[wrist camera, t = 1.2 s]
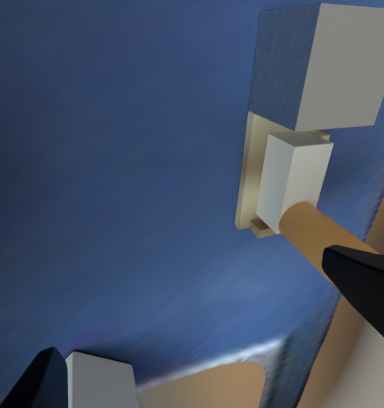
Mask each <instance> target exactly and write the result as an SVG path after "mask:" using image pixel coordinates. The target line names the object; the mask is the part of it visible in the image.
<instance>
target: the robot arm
mask: <svg viewBox="0 0 384 408" xmlns="http://www.w3.org/2000/svg"><path fill="white" fill-rule="evenodd" d="M321 265H322V269H323V271H324V273H325V274H326V275H327V276H328V278H329V279H330V280H331V281H332V282H333V284H334V285H335V286H336V287H337V289H338V290H339V291H340V292H341V293H342V295H343V296H344V297H345V298H346V299H347V301H348V302H349V303H350V304H351V305H352V306H353V307H354V308H355V309H356V310H357V311H358V312H359V313H360V314H361V315H362V316H363V317H364V318H365V319H366V320H367V321H368V322H369V323H370V324H371V325H372V326H373V327H374V328H375V329H376V330H377V331H378V332H379V333H380V334H381V335H382V336H383V337H384V255H380V254H376V253H371V252H367V251H363V250H358V249H354V248H349V247H345V246H340V245H331V246H328V247H326V248H324V250H323V256H322V264H321ZM0 408H69V407H68V368H67V364H66V361H65V360H64V358H63V357H62V355H61V354H60V353H59V351H58V350H57V348H56V347H50V348H47V349H45V350H42V351H40V352H39V353H38V354H37V356H36V357H35V358H34V360H33V361H32V362H31V364H30V365H29V367H28V368H27V369H26V371H25V372H24V373H23V375H22V376H21V377H20V379H19V380H18V382H17V383H16V384H15V386H14V387H13V388H12V390H11V391H10V392H9V394H8V395H7V397H6V398H5V399H4V401H3V402H2V403H1V405H0Z"/></svg>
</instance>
